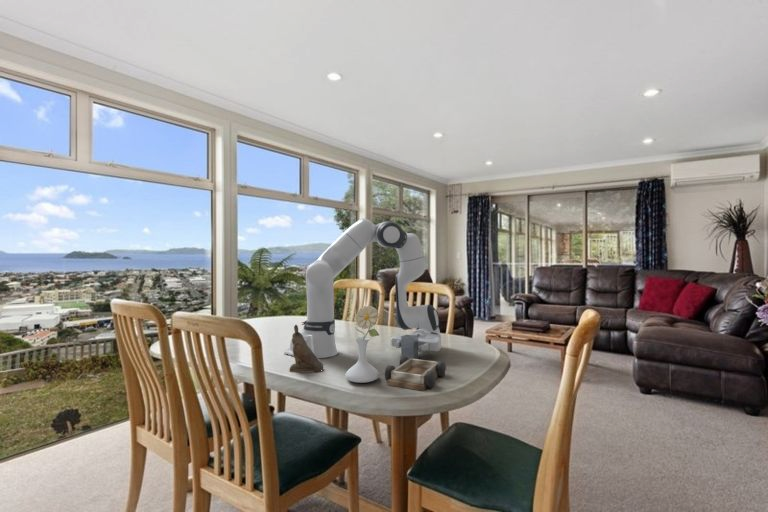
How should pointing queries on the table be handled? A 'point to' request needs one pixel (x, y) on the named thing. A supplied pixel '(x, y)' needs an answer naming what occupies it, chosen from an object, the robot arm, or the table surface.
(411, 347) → the block
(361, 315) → the flower in vase
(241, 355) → the table surface
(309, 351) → the brown carved statuette
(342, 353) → the table surface
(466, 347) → the table surface
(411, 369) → the chassis
